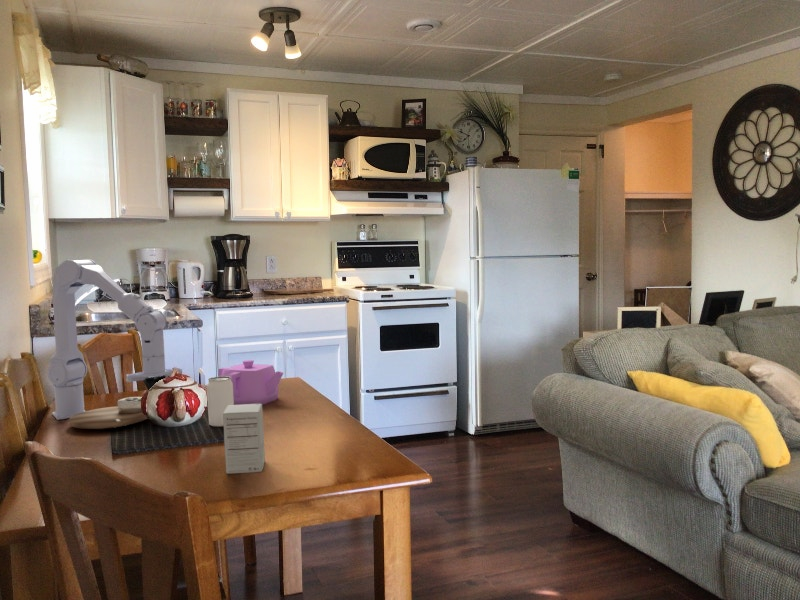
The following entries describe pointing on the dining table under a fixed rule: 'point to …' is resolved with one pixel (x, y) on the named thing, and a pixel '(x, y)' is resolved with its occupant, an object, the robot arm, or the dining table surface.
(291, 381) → the dining table surface
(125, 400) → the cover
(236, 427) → the supplement box
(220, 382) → the can
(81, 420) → the turntable
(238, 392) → the teakettle
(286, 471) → the dining table surface
